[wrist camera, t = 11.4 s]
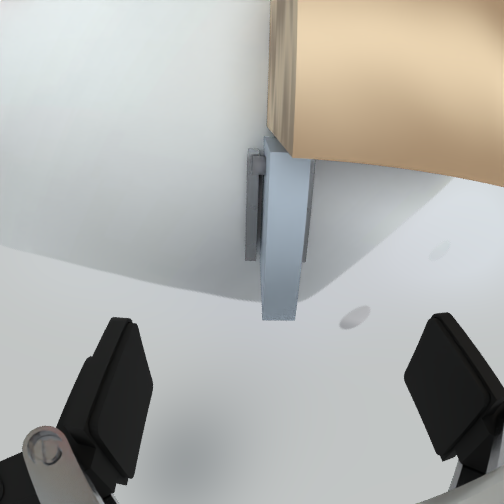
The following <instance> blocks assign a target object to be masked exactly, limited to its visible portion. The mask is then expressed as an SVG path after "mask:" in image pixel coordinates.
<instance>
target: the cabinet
mask: <svg viewBox="0 0 504 504" xmlns="http://www.w3.org/2000/svg"><path fill="white" fill-rule="evenodd" d="M267 127H268V128H269V130H270V131H271V132H272V133H273V134H274V136H275V137H276V138H277V139H278V141H279V142H280V143H281V144H282V146H283V147H284V148H285V149H286V150H287V152H288V153H289V154H290V156H291V157H292V158H303V159H318V160H330V161H342V162H352V163H362V164H371V165H380V166H388V167H395V168H403V169H410V170H417V171H423V172H429V173H435V174H441V175H447V176H452V177H458V178H463V179H469V180H473V181H478V182H483V183H488V184H492V185H497V186H501V187H504V0H270V37H269V72H268V104H267Z"/></svg>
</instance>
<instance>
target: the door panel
mask: <svg viewBox="0 0 504 504" xmlns="http://www.w3.org/2000/svg"><path fill="white" fill-rule="evenodd" d="M310 164H311V159H303V158H292V157H291V156H290V154H289V153H288V152H287V150H286V149H285V148H284V147H283V146H282V144H281V143H280V142H279V141H278V139H277V138H276V137H264V156H253V175H263V186H262V213H261V240H260V269H261V295H262V320H295V315H296V306H297V299H298V291H299V282H300V274H301V265H302V255H303V246H304V236H305V225H306V214H307V203H308V191H309V178H310Z"/></svg>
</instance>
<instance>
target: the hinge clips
mask: <svg viewBox="0 0 504 504" xmlns="http://www.w3.org/2000/svg"><path fill="white" fill-rule="evenodd" d="M253 156H260V154H259V149H248V158H247V202H246V250H245V261H256V244H257V215H258V186H259V175H253ZM314 169H315V159H311V164H310V178H309V191H308V203H307V214H306V225H305V236H304V246H303V255H302V262H306V253H307V244H308V235H309V225H310V215H311V204H312V193H313V182H314Z"/></svg>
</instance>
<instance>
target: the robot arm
mask: <svg viewBox="0 0 504 504" xmlns="http://www.w3.org/2000/svg"><path fill="white" fill-rule="evenodd" d="M404 381H405V383H406V385H407V387H408V390H409V392H410V394H411V396H412V398H413V401H414V402H415V405H416V407H417V409H418V411H419V414H420V416H421V418H422V421H423V423H424V425H425V428H426V430H427V432H428V435H429V437H430V440H431V442H432V444H433V447H434V449H435V452H436V453H437V454H438V455H440V456H441V459H442V461H445V460H448V459H450V458H453V457H455V456H456V455H457V456H458V458H459V460H458V463H457V467H456V470H455V473H454V476H453V479H452V481H451V484H450V487H449V490H448V492H446V493H444V494H441V495H439V496H436V497H433V498H431V499H428V500H425V501H423V502H420V503H417V504H504V387H503V386H502V384H501V383H500V381H499V380H498V378H497V377H496V375H495V374H494V372H493V371H492V369H491V368H490V367H489V365H488V364H487V362H486V361H485V359H484V358H483V356H482V355H481V354H480V352H479V351H478V349H477V348H476V347H475V345H474V344H473V343H472V341H471V340H470V339H469V337H468V336H467V334H466V333H465V332H464V330H463V329H462V328H461V327H460V325H459V324H458V323H457V321H456V320H455V319H454V318H453V316H452V315H451V314H450V313H448V312H447V313H437V314H434V315H433V316H432V317H431V319H429V320H428V322H427V324H426V327H425V329H424V331H423V334H422V336H421V338H420V341H419V343H418V345H417V347H416V350H415V352H414V354H413V356H412V358H411V361H410V363H409V365H408V367H407V369H406V371H405V374H404ZM152 391H153V381H152V377H151V374H150V371H149V367H148V363H147V360H146V356H145V352H144V349H143V345H142V341H141V337H140V333H139V329H138V326H137V324H135V323H132V320H131V319H129V318H117V317H113V318H111V320H110V321H109V324H108V326H107V328H106V330H105V331H104V333H103V336H102V337H101V340H100V342H99V344H98V346H97V348H96V350H95V352H94V354H93V356H92V357H91V356H90V357H89V358H87V359H86V361H85V363H84V365H83V367H82V369H81V371H80V373H79V375H78V378H77V380H76V382H75V384H74V386H73V389H72V391H71V393H70V396H69V398H68V400H67V403H66V405H65V407H64V409H63V412H62V414H61V417H60V419H59V422H58V424H57V426H56V428H54V427H51V426H42V427H37V428H36V429H34V430H32V431H31V432H30V433H29V434H28V435H27V436H26V438H25V440H24V442H23V447H22V451H23V452H21V453H18V454H16V455H14V456H12V457H9V458H7V459H5V460H3V461H0V504H119V502H118V501H117V499H116V498H115V496H114V494H113V493H114V492H115V487H116V483H117V484H122V485H127V482H128V478H130V479H132V478H133V476H134V473H135V469H136V463H137V459H138V454H139V449H140V444H141V439H142V435H143V430H144V426H145V421H146V417H147V412H148V408H149V404H150V400H151V396H152Z"/></svg>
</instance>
